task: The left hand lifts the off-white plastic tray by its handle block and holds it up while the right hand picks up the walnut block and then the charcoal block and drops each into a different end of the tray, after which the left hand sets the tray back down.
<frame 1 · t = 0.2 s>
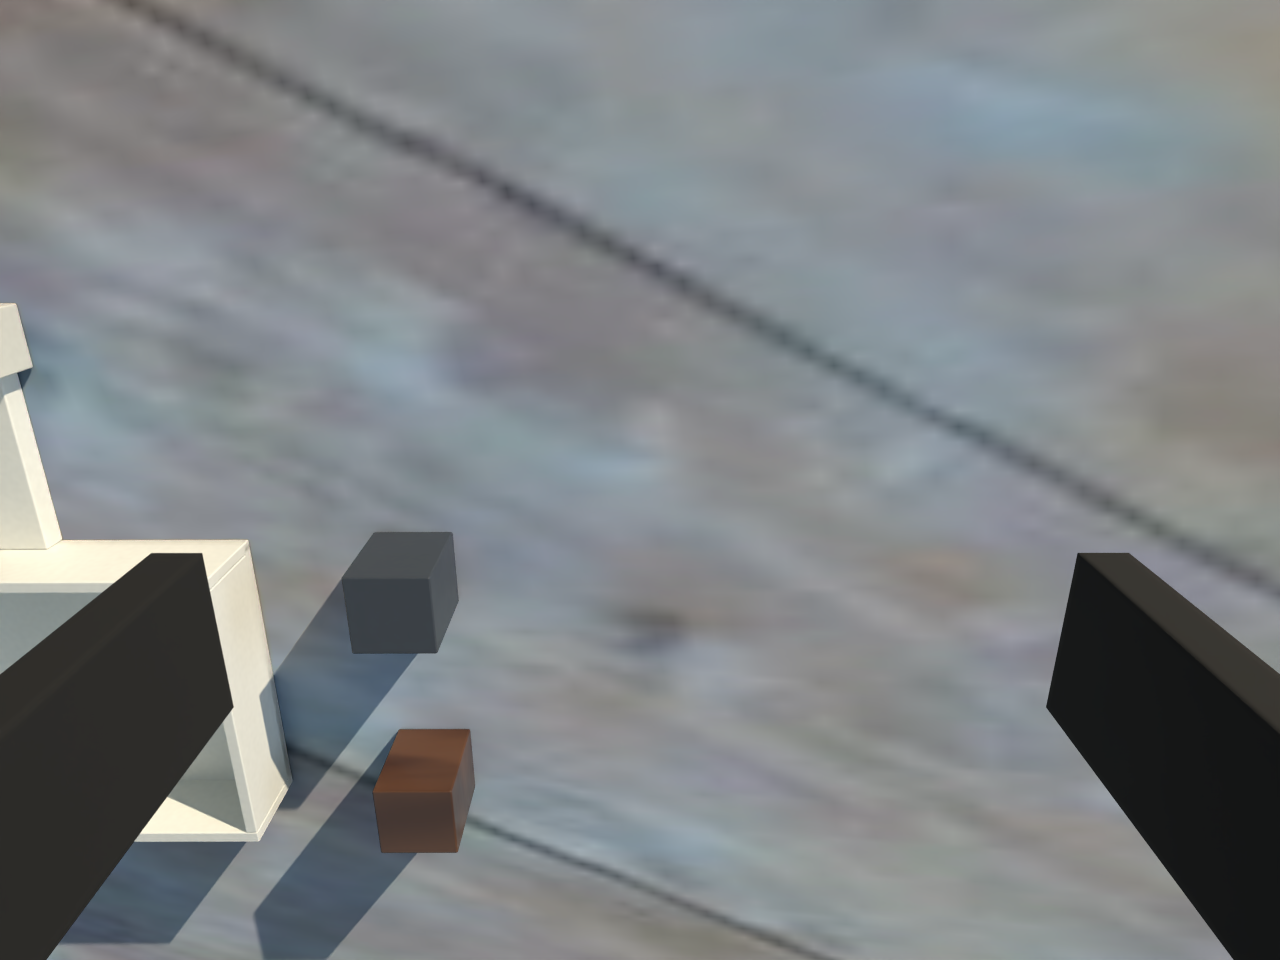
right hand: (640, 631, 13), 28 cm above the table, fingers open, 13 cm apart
charcoal block: (417, 567, 43), on the table
walnut block: (437, 757, 48), on the table
tray: (75, 667, 45), on the table
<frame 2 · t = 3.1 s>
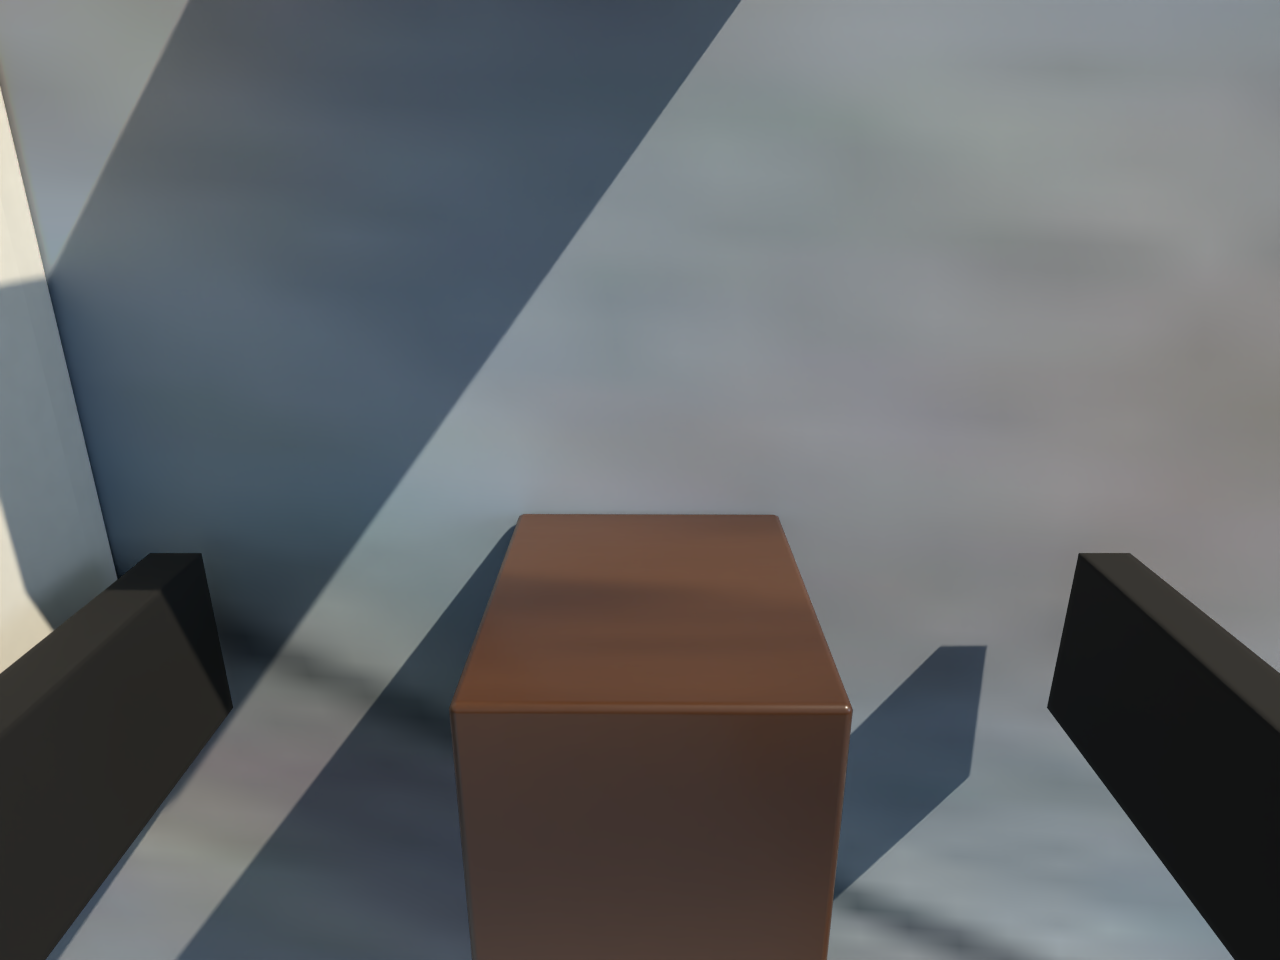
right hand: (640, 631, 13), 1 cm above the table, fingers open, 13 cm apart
walnut block: (648, 626, 14), on the table
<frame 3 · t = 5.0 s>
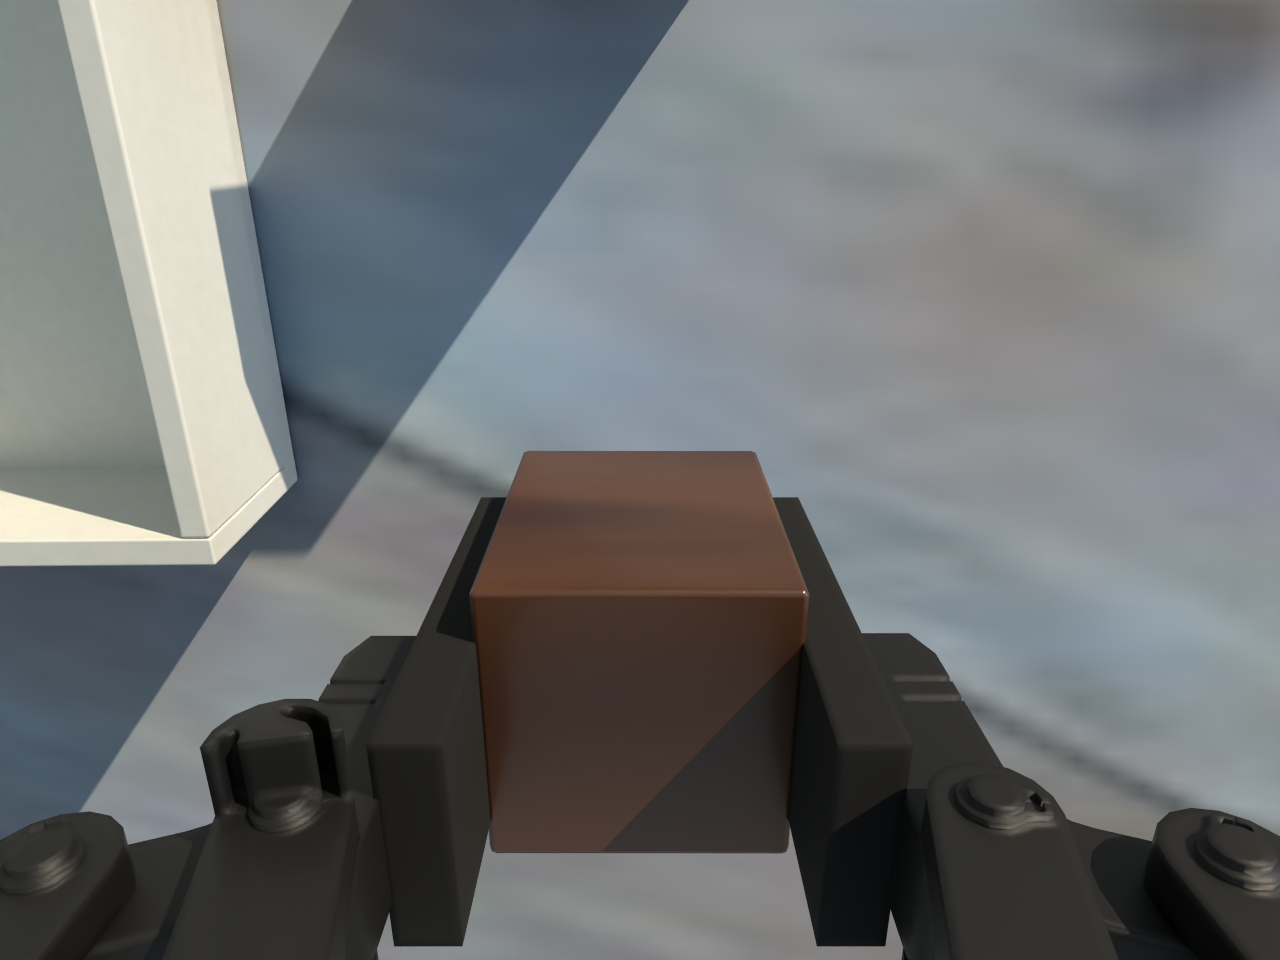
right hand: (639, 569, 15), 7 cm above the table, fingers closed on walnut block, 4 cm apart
walnut block: (639, 554, 15), point 6 cm above the table, touching right hand
when the right hand's fingers open (15 cm above the table, at t = 9.4 s): walnut block drops 4 cm, resting on tray.
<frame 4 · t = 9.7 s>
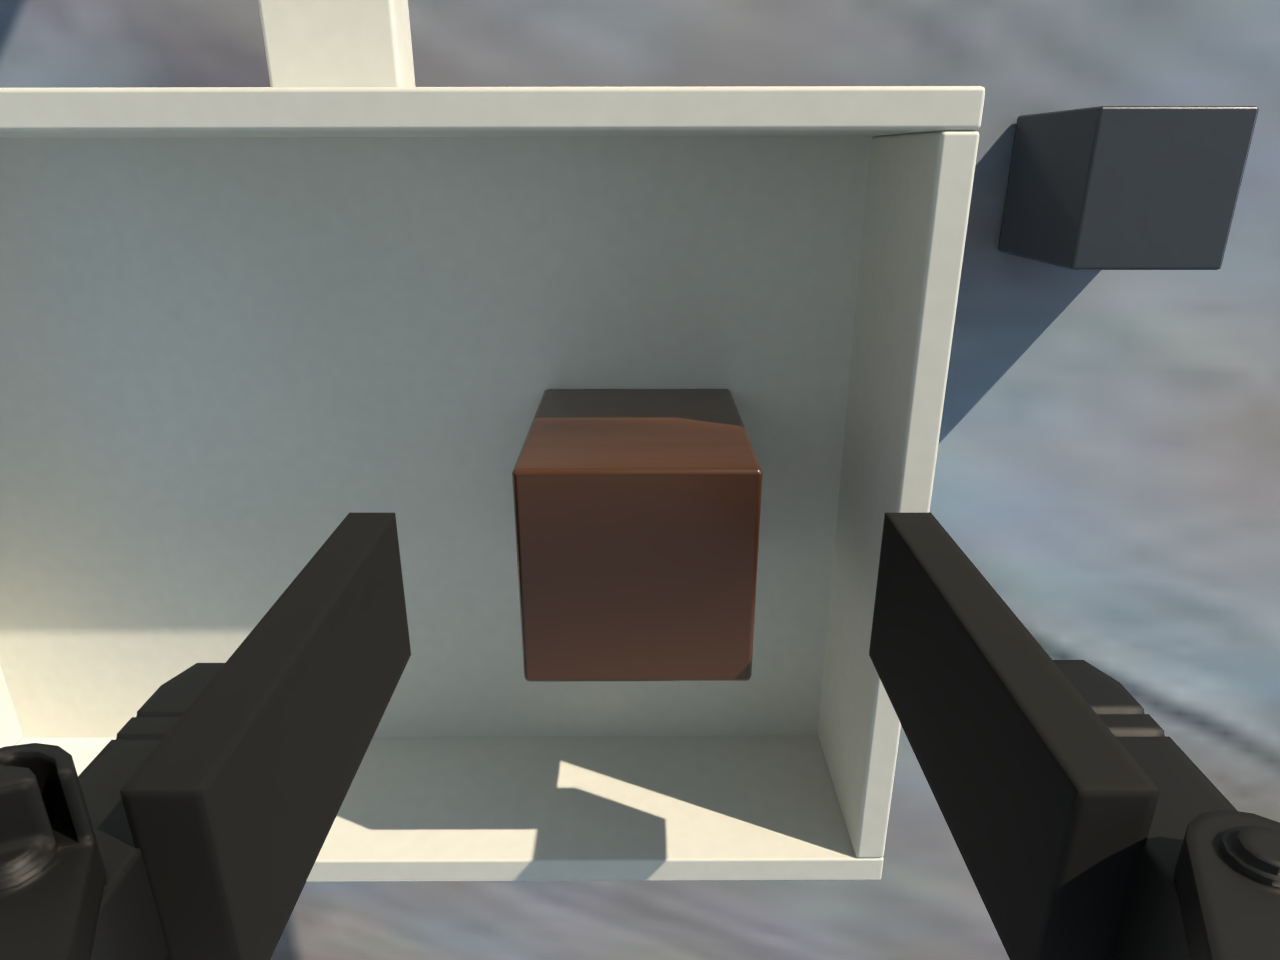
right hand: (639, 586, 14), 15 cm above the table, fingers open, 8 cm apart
charcoal block: (1070, 185, 26), on the table
walnut block: (637, 475, 19), point 10 cm above the table, touching tray
tray: (397, 468, 19), point 10 cm above the table, touching left hand, walnut block
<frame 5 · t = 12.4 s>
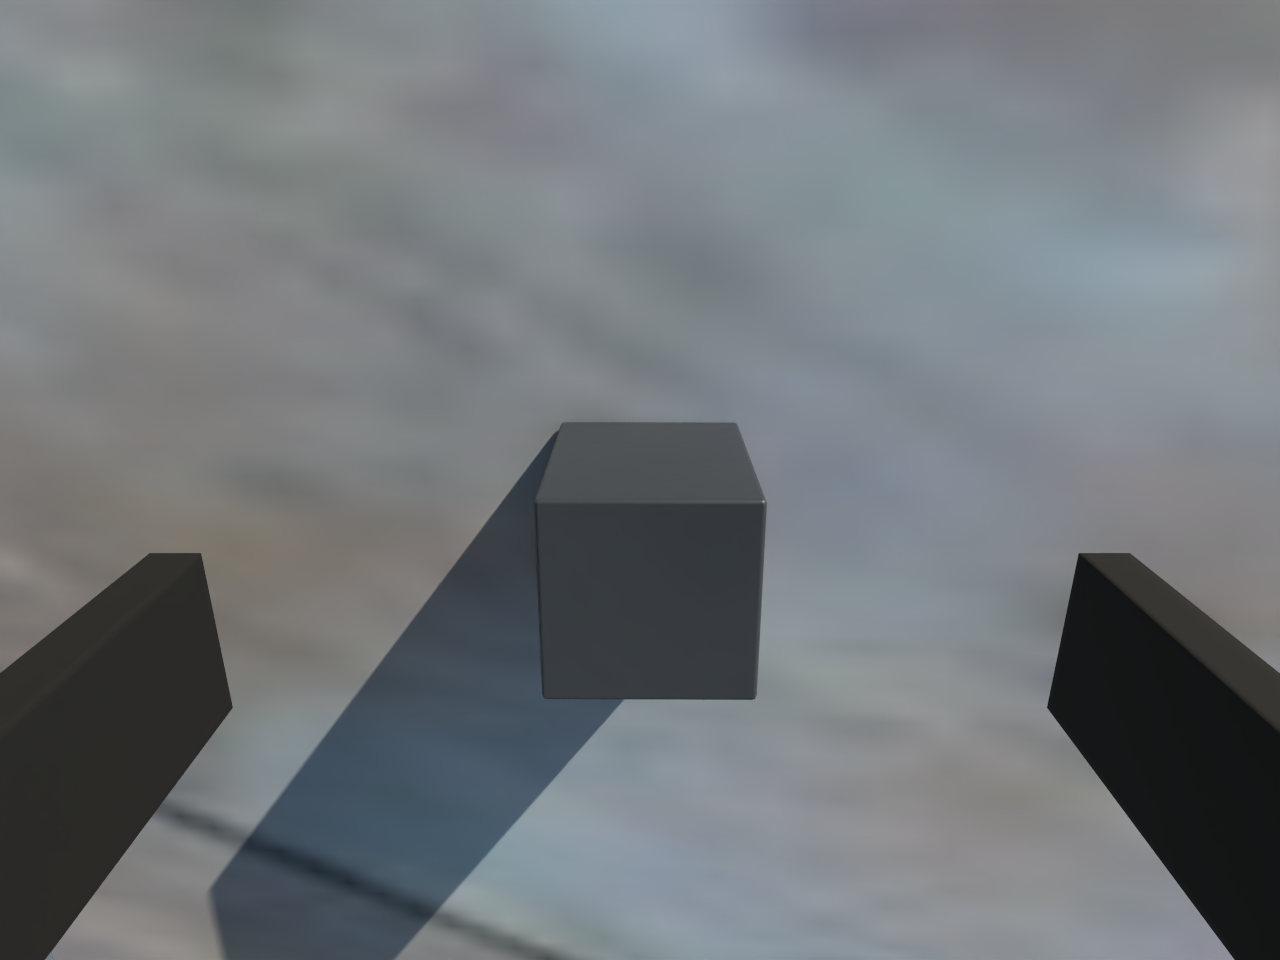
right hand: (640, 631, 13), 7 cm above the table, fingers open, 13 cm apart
charcoal block: (648, 504, 20), on the table
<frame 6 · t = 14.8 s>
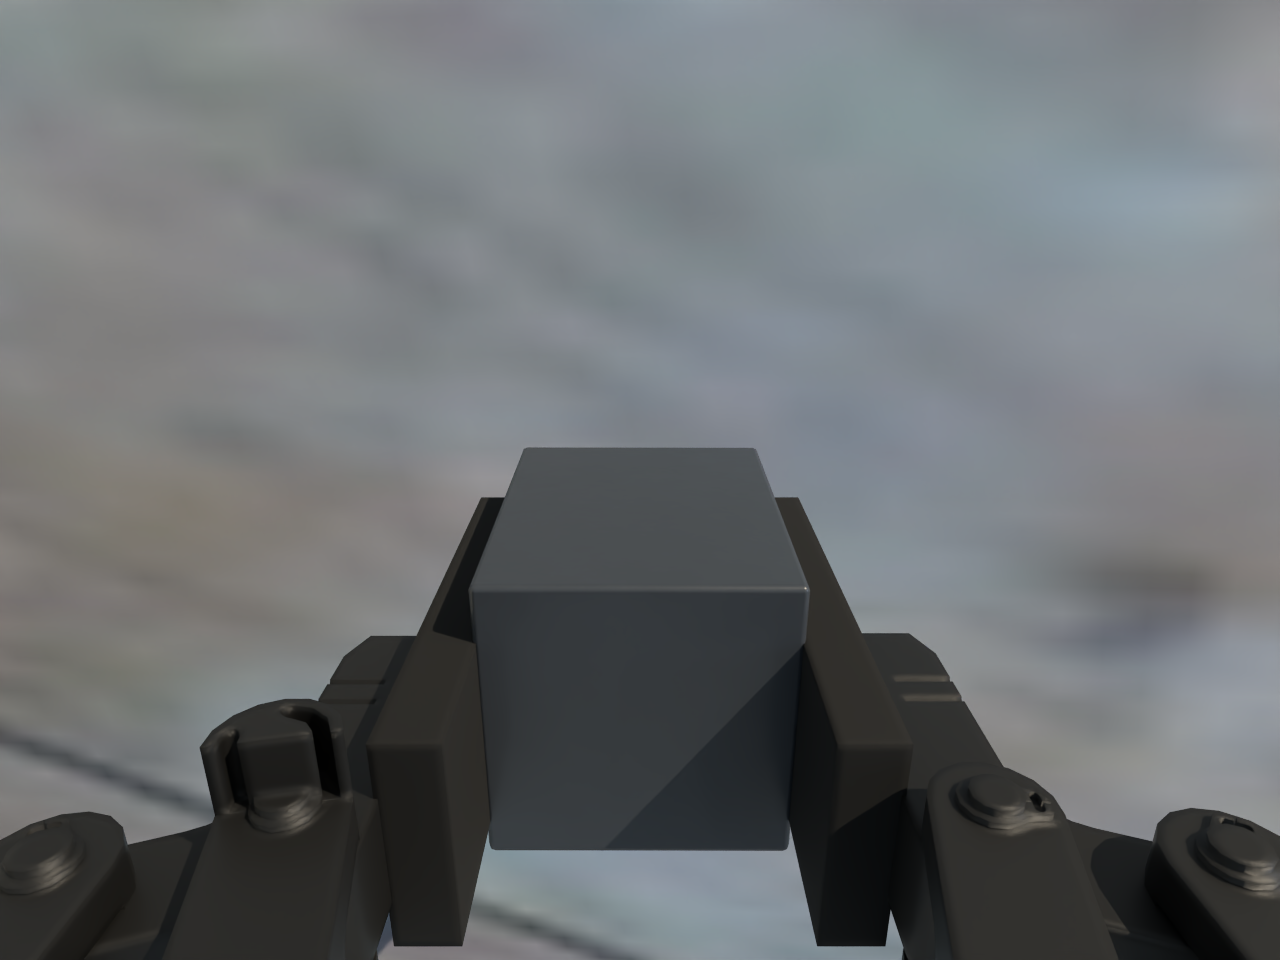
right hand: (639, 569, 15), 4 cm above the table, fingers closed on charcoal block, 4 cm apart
charcoal block: (639, 551, 15), point 4 cm above the table, touching right hand
when the right hand's fingers open (15 cm above the table, at t = 18.9 s): charcoal block drops 3 cm, resting on tray.
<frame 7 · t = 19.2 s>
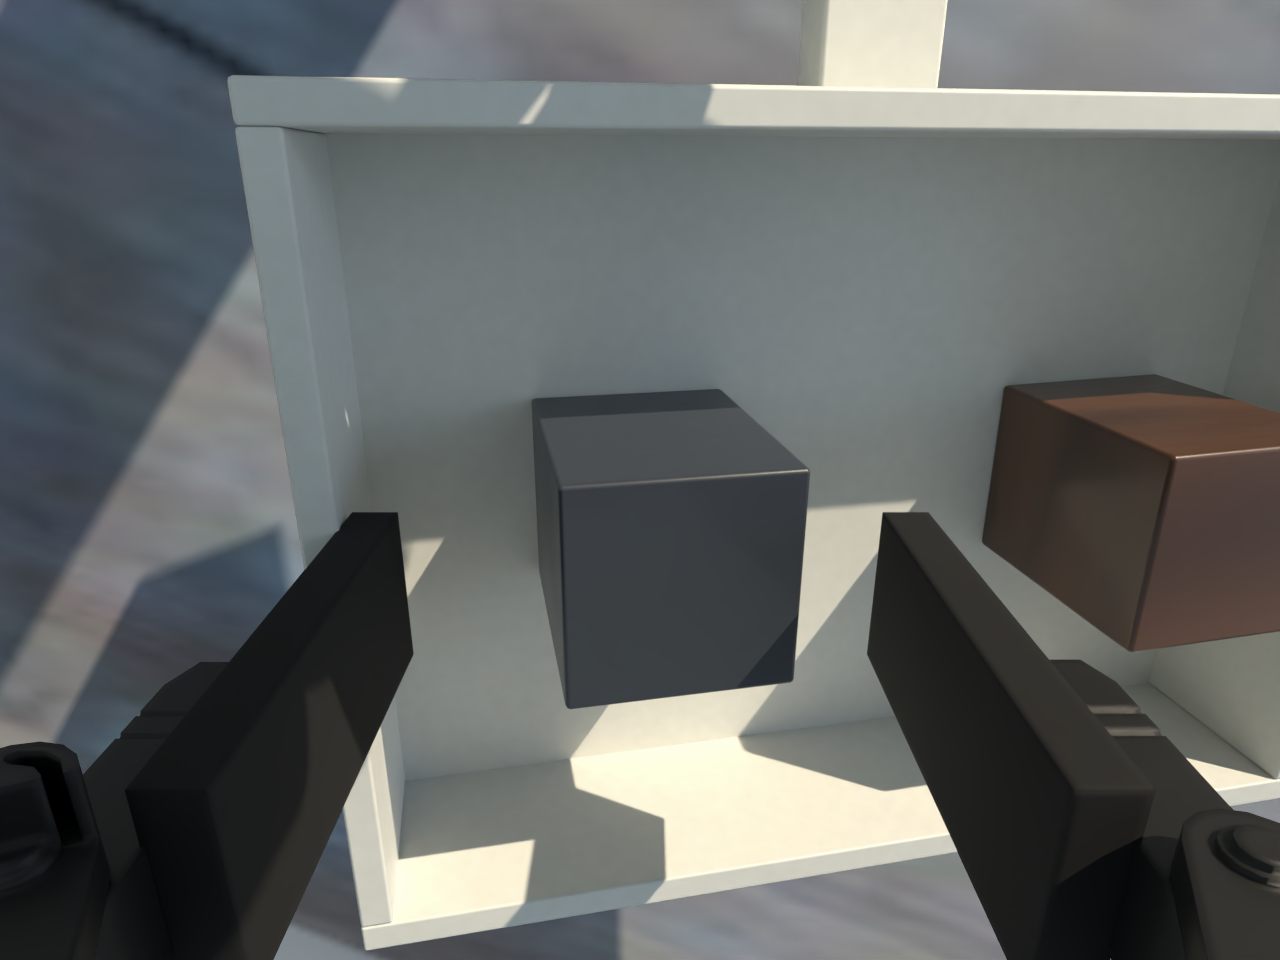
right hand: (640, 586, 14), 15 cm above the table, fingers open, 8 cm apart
charcoal block: (628, 482, 18), point 11 cm above the table, tilted 11°, touching tray
walnut block: (1066, 459, 20), point 9 cm above the table, tilted 11°, touching tray
tray: (821, 462, 20), point 9 cm above the table, tilted 11°, touching charcoal block, right hand, left hand, walnut block
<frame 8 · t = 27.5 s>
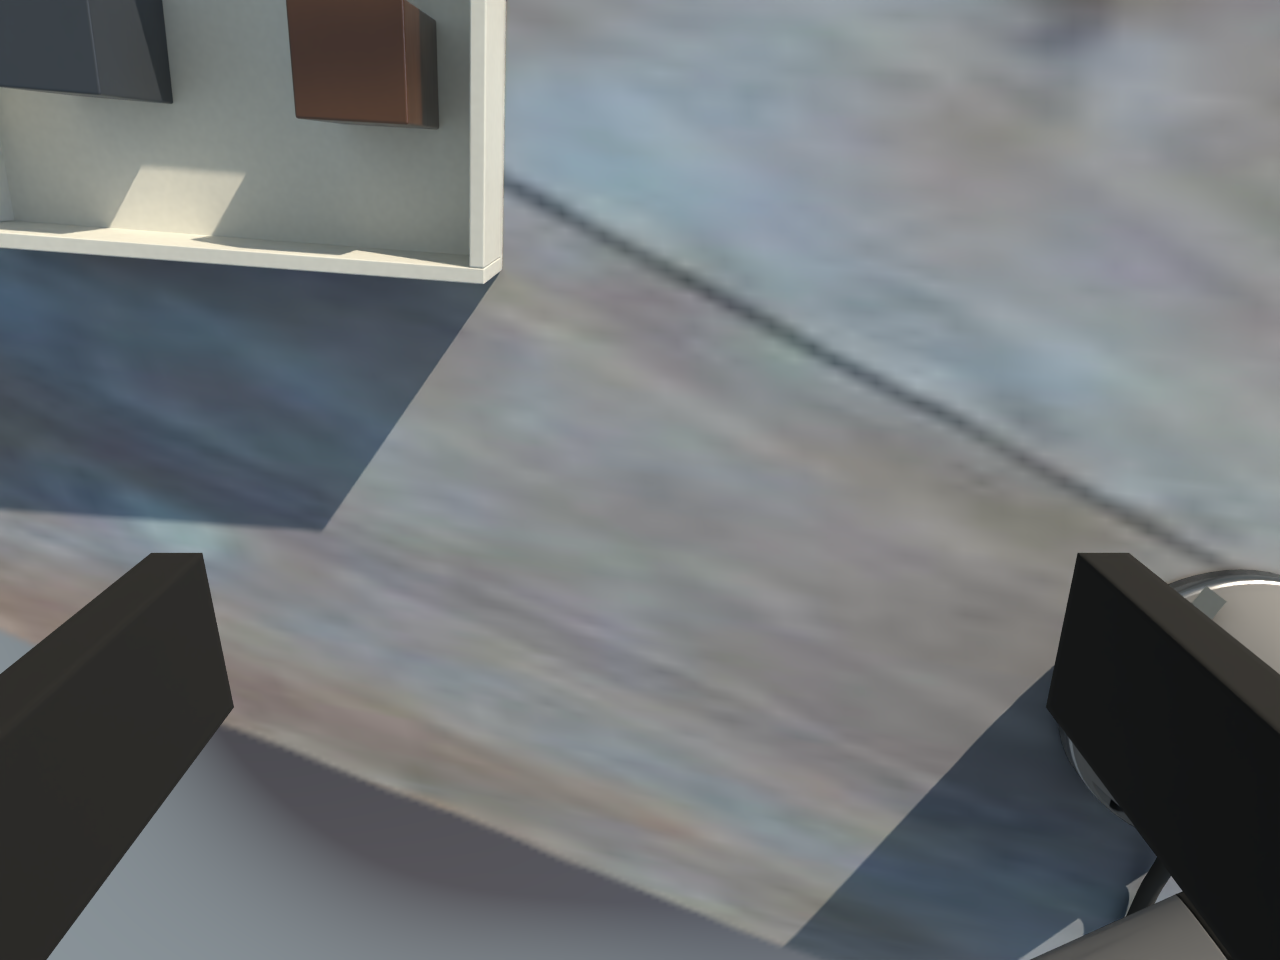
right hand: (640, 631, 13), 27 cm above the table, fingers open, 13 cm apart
charcoal block: (117, 45, 33), point 1 cm above the table, touching tray
walnut block: (388, 73, 34), point 1 cm above the table, touching tray
tray: (243, 58, 34), on the table, touching charcoal block, walnut block
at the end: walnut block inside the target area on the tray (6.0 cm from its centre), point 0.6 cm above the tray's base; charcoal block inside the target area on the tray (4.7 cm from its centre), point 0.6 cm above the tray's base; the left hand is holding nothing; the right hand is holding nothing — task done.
